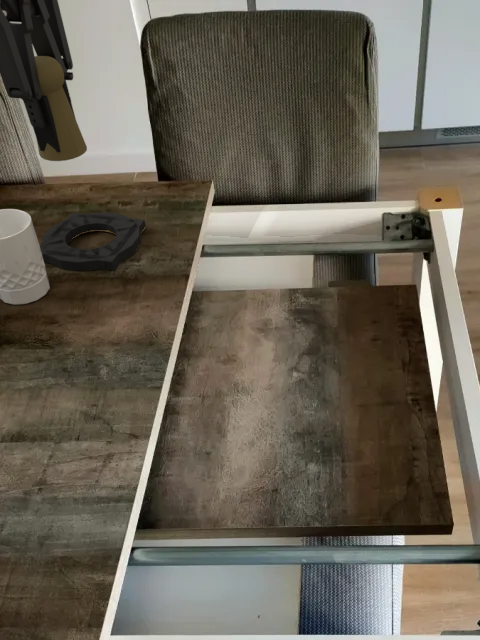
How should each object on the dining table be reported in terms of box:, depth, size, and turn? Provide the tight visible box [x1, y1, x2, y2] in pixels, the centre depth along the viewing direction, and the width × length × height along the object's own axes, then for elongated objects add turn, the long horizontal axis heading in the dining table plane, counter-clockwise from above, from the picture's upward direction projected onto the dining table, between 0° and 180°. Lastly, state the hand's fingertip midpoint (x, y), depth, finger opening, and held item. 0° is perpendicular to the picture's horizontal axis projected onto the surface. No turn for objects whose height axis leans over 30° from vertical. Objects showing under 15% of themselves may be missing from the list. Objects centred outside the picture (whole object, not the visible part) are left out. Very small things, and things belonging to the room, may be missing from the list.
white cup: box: [0, 208, 51, 306], centre depth 86 cm, size 8×8×10 cm
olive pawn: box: [30, 55, 88, 162], centre depth 82 cm, size 6×6×11 cm
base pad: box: [39, 211, 147, 272], centre depth 97 cm, size 14×14×2 cm
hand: (60, 142), depth 85 cm, fingers closed on olive pawn, 4 cm apart
